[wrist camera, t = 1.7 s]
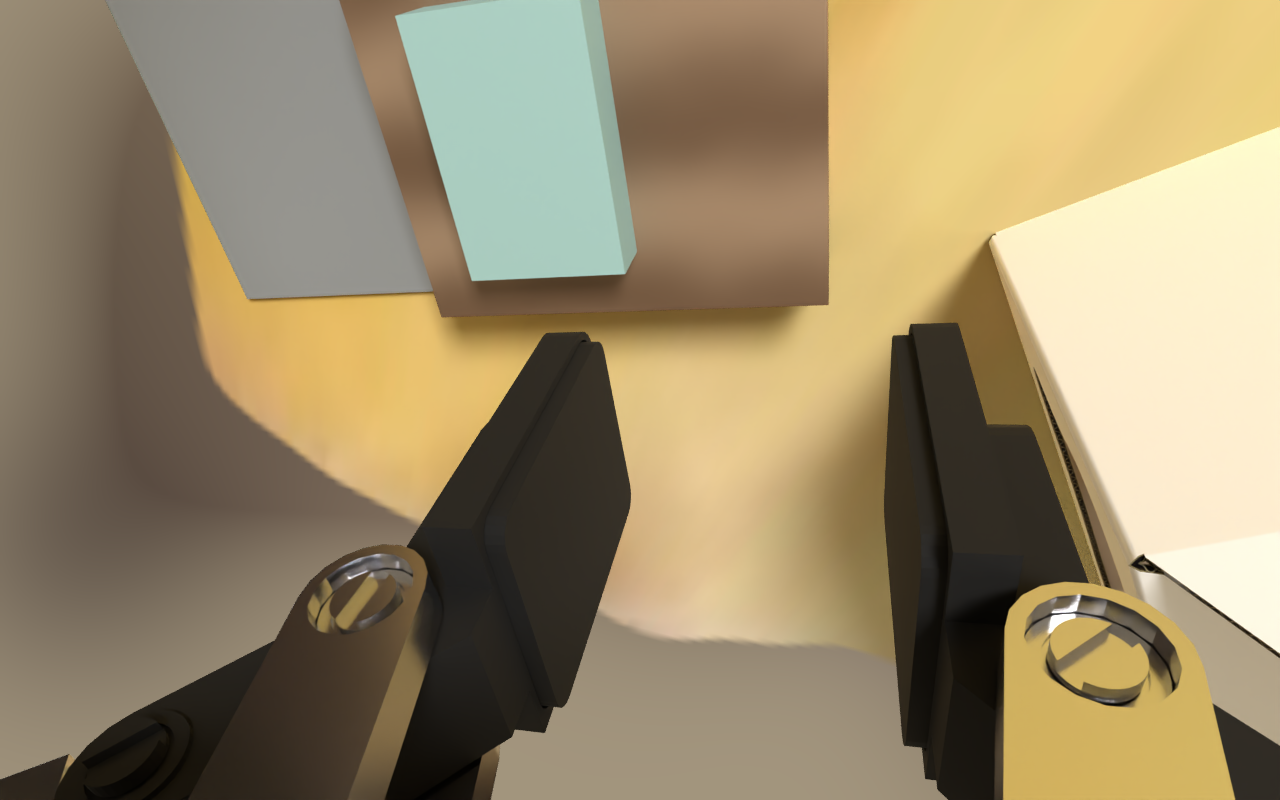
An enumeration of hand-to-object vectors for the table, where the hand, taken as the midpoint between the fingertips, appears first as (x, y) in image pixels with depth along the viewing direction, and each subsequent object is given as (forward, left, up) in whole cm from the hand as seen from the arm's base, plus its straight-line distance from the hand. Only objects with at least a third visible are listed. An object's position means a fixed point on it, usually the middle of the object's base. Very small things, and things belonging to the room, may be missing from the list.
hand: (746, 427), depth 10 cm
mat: (0, -22, -21) cm, 31 cm away
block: (0, -9, -17) cm, 19 cm away
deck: (0, -7, -21) cm, 22 cm away
